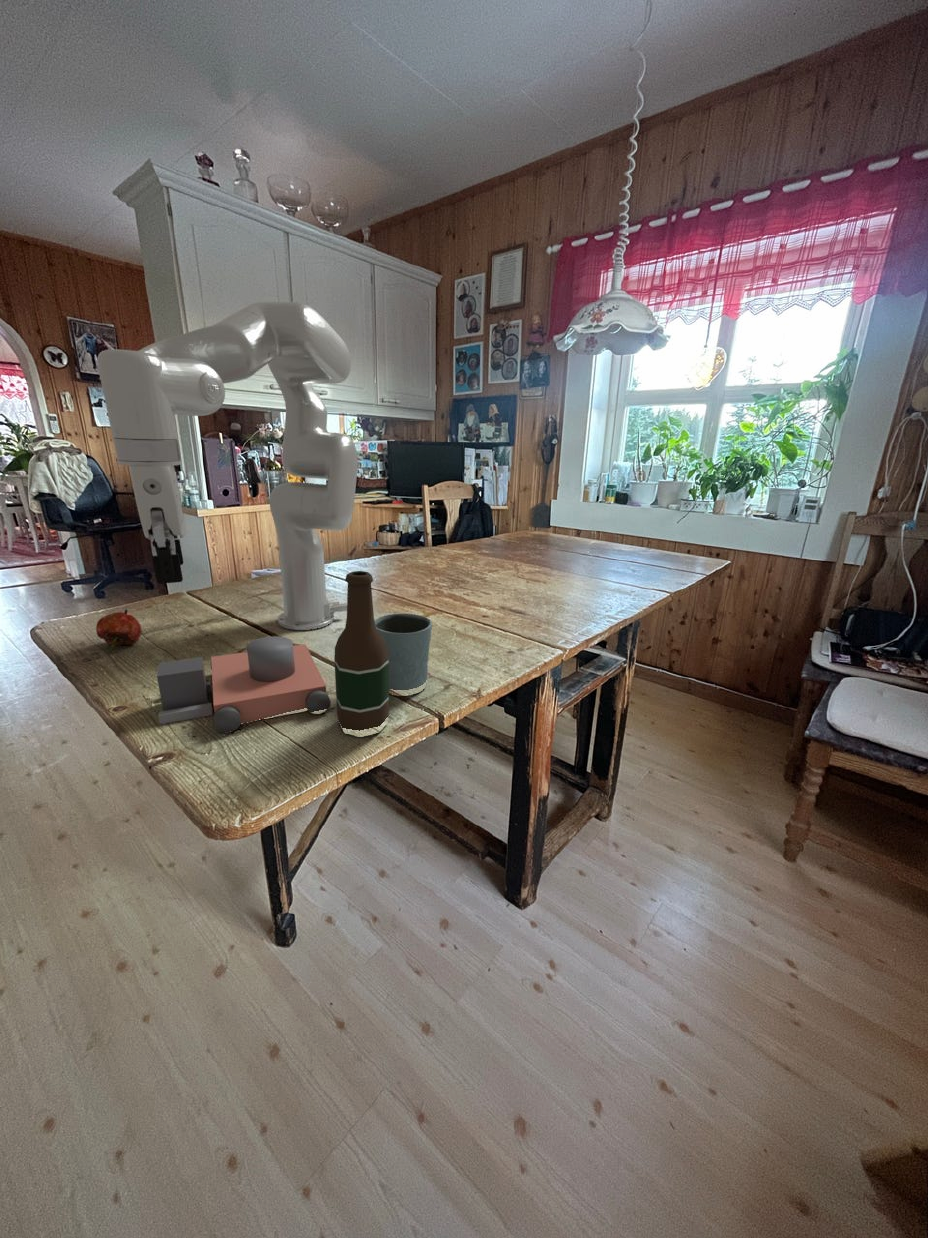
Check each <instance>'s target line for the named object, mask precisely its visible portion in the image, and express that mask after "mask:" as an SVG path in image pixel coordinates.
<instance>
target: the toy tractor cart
mask: <svg viewBox="0 0 928 1238" xmlns="http://www.w3.org/2000/svg"><path fill="white" fill-rule="evenodd" d="M293 642H294V641H293V640H292V639H291V638H288V637H285V636H277V635H276V636H266V637H260V638H257V639H254V640H252V641H250V642H249V643H248V644H247V645H246V652H244V651H243V652H238V653H228V654H226V653H220V654H216V655H215V656H211V657H210V658H211V661H210V669H211V677H212V678H211V679H212V681H210V680H209V681H206V684H207V690H208V694H209V693H212V699H213V700H212V701H213V703H212V702H209V703H207V704H201V705H195V706H190V707H184V708H178V709H172V710H166V711H163V710H161V711H158V715H157V716H158V721H159V725H165V724H169V723H170V724H171V723H176V722H181V721H186V720H187V721H188V720H193V719H197V718H202V717H208V716H212V720H213V721H212V722H213V727H214V729H215V730H216V731H217V732H219V733H222V734H226V733H225V732H230V731H233V730H235V731H236V730H237V729H238V728H239V727H240V724H241V723H247V722H251V721H255V720H259V719H264V718H267V717H272V716H275V715H279V714H283V713H286V712H291V711H295V710H300V709H304V708H307V709H308V711H309V713H310V712H314V711H319V710H324V709H328V708H329V709H330V707H331V705H332V702H331V698H330V697H329V695H328V693H327V685H326V683H325V682H324V679H323V677H322V675H321V673H320V671H319V668H318V667H317V664H316V663H315V661H314V659H313V657H312V654H311V653H310V651H309V649H308V647H307V643H304V644H299V643H293ZM211 682H212V683H211ZM212 704H213V706H212ZM329 709H328V710H329ZM213 710H214V711H213ZM213 712H214V713H213ZM247 724H248V723H247ZM233 732H234V731H233ZM230 733H231V732H230Z"/></svg>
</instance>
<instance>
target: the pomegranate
mask: <svg viewBox="0 0 928 1238" xmlns="http://www.w3.org/2000/svg"><path fill="white" fill-rule="evenodd" d="M95 628H96V629H95V630H96V635H97V637H98V638H100V639H103V640H104V641H105V643H107V644H108V645H110V646H111V647H110V649H109V652H108V655H111V653H112V651H113V649H114V648H115V646H123V645H125V646H132V645H135V644H136V643H137V642H139V640H140V638H141V636H142V631H143V630H142V626H141V624H140V623H139V621H138V620H137V619H136V617H135V616H133V614H128V609H125V610H124V612H121V611H119V612H117V611H116V612H112V613H109V614H106V615H105V616H104V615H103V616H101V617H100V618H99V619H98V621H97V623H96V627H95Z"/></svg>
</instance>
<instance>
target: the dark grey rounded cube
mask: <svg viewBox="0 0 928 1238" xmlns="http://www.w3.org/2000/svg"><path fill="white" fill-rule="evenodd" d="M156 679H157V685H158V689H159V691H158V692H159V695H160V700H161V706H162V711H166V710H172V709H178V708H184V707H190V706H195V705H201V704H207V703H210V702H209V693H208V690H207V684H206V682H207V677H206V672H205V665H204V660H203V656H199V657H192V658H185V659H177V660H171V661H170V660H169V661H163V662H159V663H158V668H157V673H156Z"/></svg>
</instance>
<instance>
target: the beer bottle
mask: <svg viewBox="0 0 928 1238" xmlns="http://www.w3.org/2000/svg"><path fill="white" fill-rule="evenodd" d="M345 582H347V592H346V593H347V595H346V597H347V599H346V601H347V602H346V604H347V611H346V618H345V619H346V621H345V627H344V629H343V630H342V631H341V634H339V636H338V638H337V641H336V644H335V646H334V657H333V658H334V678H335V697H336V699H335V701H336V714H337V715H336V716H337V721H338V720H339V722H340V724H341V726H342V728H346V729H352V730H359V731H360V730H364V729H369V728H373V727H378V726H380V725H381V724H382V723H383V722H384V721H385V719H386V718H387V717H388V716H389V717H390V695H389V660H388V649H387V646H386V644H385V641H384V639H383V637H382V636H381V634H380V633H379V632H378V630H377V629H376V625H375V615H374V603H373V592H372V591H373V590H372V583H373V582H374V579H373V575H372V574H371V573H370V572H368V571H364V570H356V571H355V570H354V571H351V572H349V573H347V574H346V575H345Z"/></svg>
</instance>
